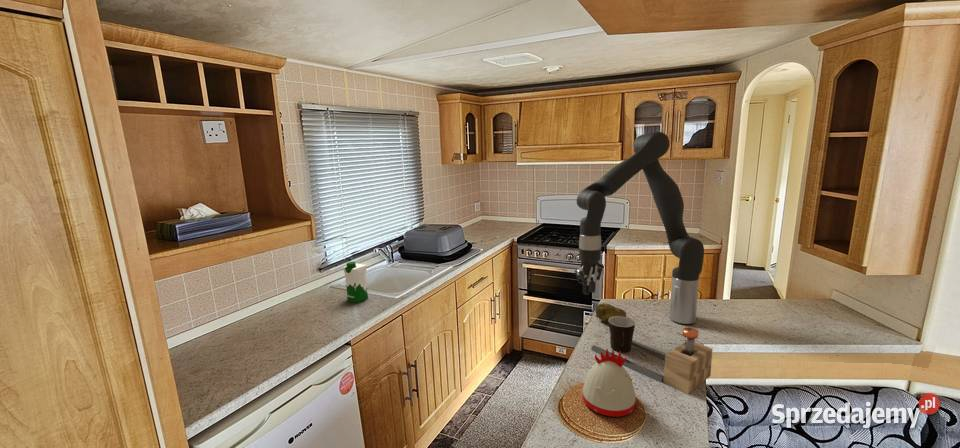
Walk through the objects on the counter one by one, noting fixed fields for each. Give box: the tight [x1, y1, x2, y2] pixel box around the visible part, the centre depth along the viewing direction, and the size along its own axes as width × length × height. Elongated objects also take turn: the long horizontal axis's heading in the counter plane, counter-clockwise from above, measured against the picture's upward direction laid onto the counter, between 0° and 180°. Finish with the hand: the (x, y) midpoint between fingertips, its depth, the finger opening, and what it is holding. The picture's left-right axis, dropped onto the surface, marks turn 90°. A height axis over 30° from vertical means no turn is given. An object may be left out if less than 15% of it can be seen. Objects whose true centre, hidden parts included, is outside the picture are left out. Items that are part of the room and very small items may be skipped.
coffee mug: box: [608, 316, 636, 354], centre depth 134 cm, size 12×9×10 cm
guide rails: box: [590, 339, 667, 383], centre depth 130 cm, size 14×25×2 cm, turn 37°
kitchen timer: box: [582, 348, 636, 417], centre depth 107 cm, size 14×14×15 cm
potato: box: [594, 302, 627, 324], centre depth 156 cm, size 8×13×8 cm, turn 88°
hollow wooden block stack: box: [663, 342, 714, 395], centre depth 116 cm, size 14×7×9 cm, turn 127°
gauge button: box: [682, 327, 699, 356], centre depth 115 cm, size 4×4×10 cm
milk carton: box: [342, 261, 369, 304], centre depth 185 cm, size 9×9×20 cm
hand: (589, 292), depth 142 cm, fingers open, 3 cm apart
